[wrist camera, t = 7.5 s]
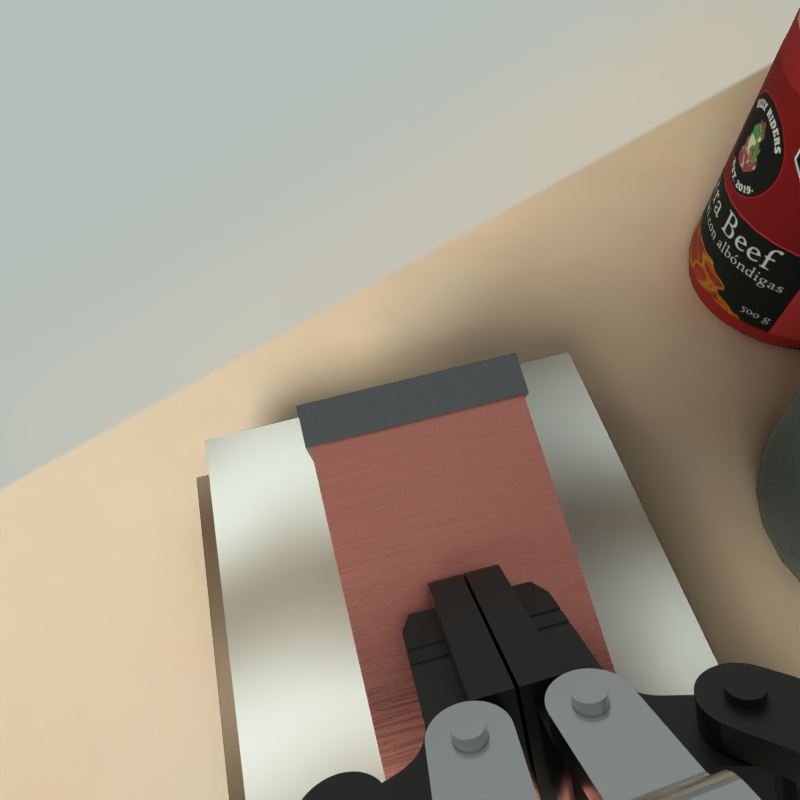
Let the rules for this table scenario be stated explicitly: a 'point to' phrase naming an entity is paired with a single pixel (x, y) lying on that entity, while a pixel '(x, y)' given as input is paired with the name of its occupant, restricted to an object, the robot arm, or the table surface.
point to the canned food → (758, 215)
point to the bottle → (783, 487)
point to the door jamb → (326, 609)
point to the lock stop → (436, 517)
